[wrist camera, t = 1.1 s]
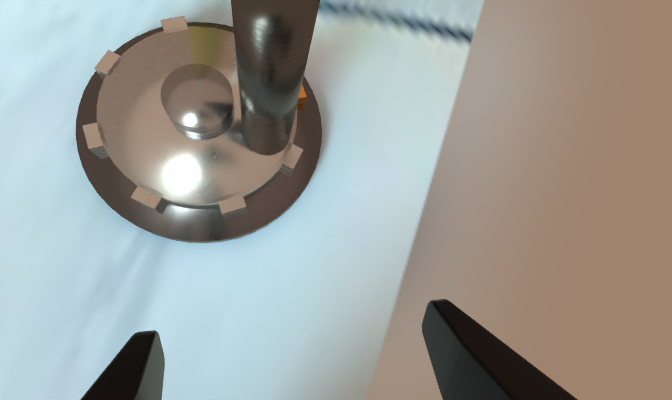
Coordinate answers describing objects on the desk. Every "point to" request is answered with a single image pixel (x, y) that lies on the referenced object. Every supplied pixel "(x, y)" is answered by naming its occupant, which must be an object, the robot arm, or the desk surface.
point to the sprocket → (207, 107)
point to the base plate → (199, 221)
